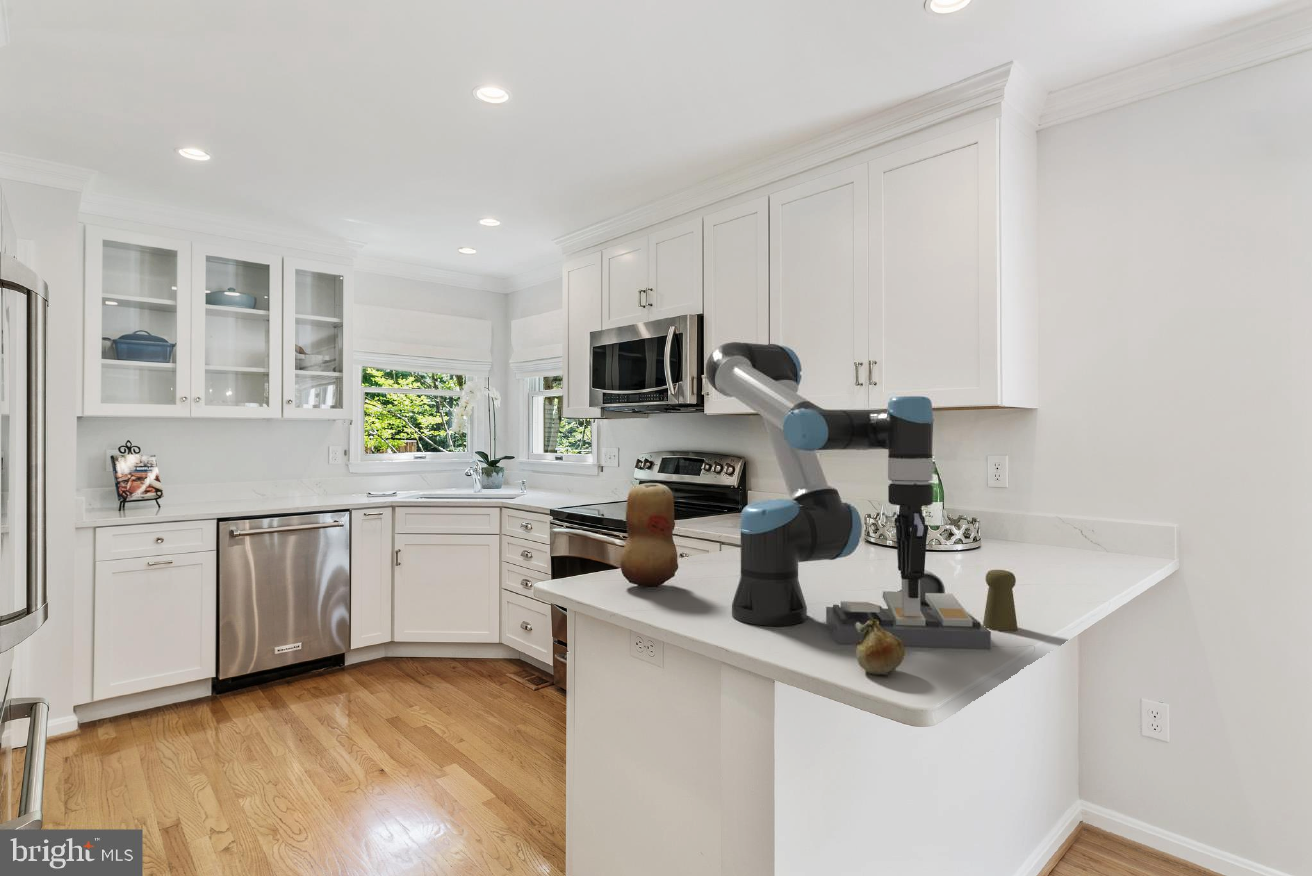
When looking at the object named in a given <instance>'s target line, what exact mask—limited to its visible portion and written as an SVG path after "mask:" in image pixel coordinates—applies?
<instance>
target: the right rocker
mask: <svg viewBox="0 0 1312 876" xmlns="http://www.w3.org/2000/svg"><path fill="white" fill-rule="evenodd" d="M925 599H926V601H927V602H928V604H929V605H930V607H931V608H932V609H931V610H933V612H934V613H935V615H936V616H937V618H938V619H939V621H940V622H941V624H942V625H943V626H972V623H973V620H972V619H971V617H970V616H969V615H968V614H969V612H967V611H966V609H965V608H964V607H963V605H962V604H961V603H960V602H959V600H958V598H956V597H955V595H954V593H945V594H944V593H925Z"/></svg>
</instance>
